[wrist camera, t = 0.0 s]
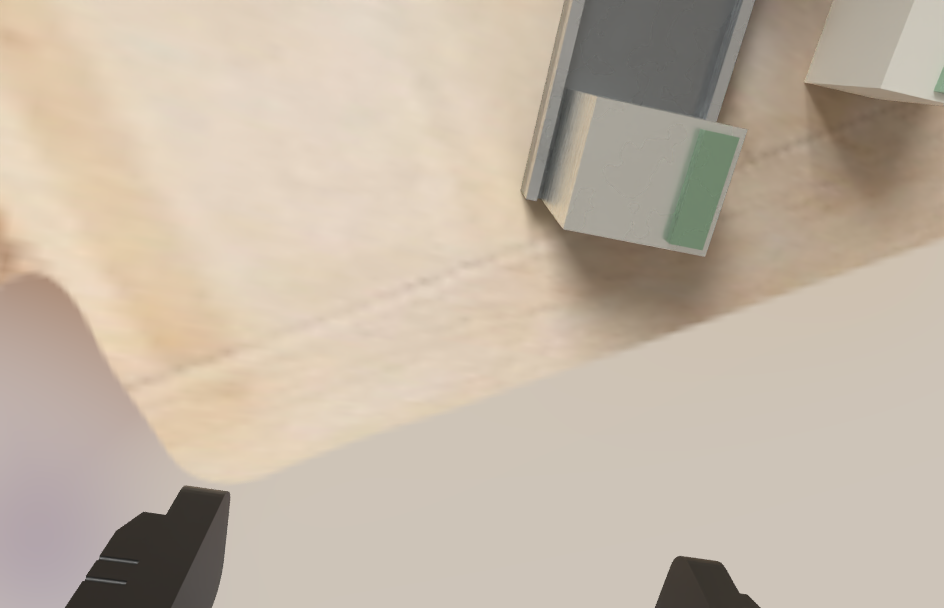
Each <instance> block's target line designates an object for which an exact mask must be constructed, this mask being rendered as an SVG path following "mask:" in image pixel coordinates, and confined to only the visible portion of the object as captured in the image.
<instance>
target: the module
mask: <svg viewBox="0 0 944 608" xmlns="http://www.w3.org/2000/svg"><path fill="white" fill-rule="evenodd" d="M804 82H805V83H809V84H813V85H818V86H822V87H826V88H831V89H835V90H840V91H844V92H848V93H853V94H857V95H861V96H866V97H870V98H874V99H880V100H890V101H899V102H909V103H919V104H928V105H938V106H944V0H833V2H832V5H831V8H830V11H829V13H828V16H827V19H826V22H825V25H824V28H823V30H822V33H821V36H820V39H819V42H818V45H817V47H816V50H815V53H814V56H813V59H812V62H811V64H810V67H809V70H808V73H807V76H806V79H805V81H804Z"/></svg>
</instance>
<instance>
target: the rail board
mask: <svg viewBox="0 0 944 608" xmlns="http://www.w3.org/2000/svg"><path fill="white" fill-rule="evenodd" d="M754 2H755V0H565V1H564V6H563V10H562V14H561V19H560V23H559V27H558V32H557V36H556V40H555V44H554V49H553V53H552V57H551V62H550V66H549V70H548V75H547V79H546V83H545V88H544V92H543V96H542V100H541V105H540V109H539V113H538V118H537V122H536V126H535V131H534V135H533V139H532V144H531V148H530V152H529V156H528V161H527V165H526V169H525V174H524V178H523V182H522V187H521V192H522V193H523V195H524V197H525V198H526V199H528V200H533V201H537V198H539V199H542V201H543V202H544V204H545V205H546V206H547V208H548V209H549V211H550V212H551V213H552V215H553V216H554V217H555V219H556V220H557V222H558V223H559V224H560V226H561V227H562V228H563V229H564V230H570V231H575V232H580V233H585V234H590V235H595V236H600V237H605V238H611V239H616V240H621V241H626V242H631V243H636V244H641V245H647V246H652V247H657V248H662V249H667V250H672V251H677V252H683V253H688V254H693V255H698V256H703V257H705V256H706V253H707V250H708V247H709V244H710V241H711V238H712V235H713V232H714V229H715V226H716V223H717V220H718V217H719V214H720V211H721V208H722V205H723V202H724V199H725V196H726V193H727V190H728V187H729V184H730V181H731V178H732V175H733V172H734V169H735V166H736V163H737V160H738V157H739V154H740V151H741V148H742V145H743V142H744V139H745V136H746V133H747V129H743V128H739V127H735V126H731V125H727V124H723V123H719V122H717V119H718V116H719V113H720V109H721V106H722V103H723V100H724V97H725V94H726V90H727V87H728V84H729V81H730V78H731V75H732V72H733V68H734V65H735V62H736V59H737V56H738V53H739V50H740V46H741V43H742V40H743V37H744V34H745V31H746V28H747V24H748V21H749V18H750V15H751V12H752V9H753V6H754Z"/></svg>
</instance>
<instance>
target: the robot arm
mask: <svg viewBox="0 0 944 608" xmlns="http://www.w3.org/2000/svg"><path fill="white" fill-rule="evenodd" d="M229 506H230V493H229V492H228V491H221V490H214V489H207V488H200V487H192V486H184V487H183V488H182V489H181V490H180V492H179V493H178V495H177V497H176V499H175V500H174V502H173V504H172V506H171V507H170V509H169V511H168V513H167V514H166V515H162V514H155V513H148V512H143V513H141V514H140V515H138V516H137V517H135V518H134V519H132V520H131V521H130V522H128V523H127V524H125V525H124V526H123V527H121V528H120V529H118V530H117V531H116V532H115V533H114V535H113V537H112V538H111V539H110V541H109V542H108V544H107V546H106V547H105V549H104V550H103V552H102V553H101V555H100V557H99V560H97V561H96V562H95V563H94V565H93V567H92V568H91V570H90V571H89V572H88V574H87V575H86V579H85V581H82V583H81V584H80V586H79V587H78V589H77V591H76V592H75V593H74V595H73V596H72V598H71V600H70V601H69V602H68V604H67V606H66V607H65V608H212V606H213V603H214V600H215V597H216V594H217V591H218V587H219V583H220V579H221V575H222V569H223V563H224V553H225V544H226V535H227V525H228V516H229ZM655 608H760V607H759V606H758V605H757V604H756V603H755V602H754V601H753V600H752V599H751V598H750V597H749V596H748V595H746V594H740V593H739V591H738V590H737V588H736V586H735V585H734V583H733V581H732V579H731V577H730V576H729V574H728V572H727V570H726V568H725V567H724V565H723V564H722V563H720V562H718V561H712V560H705V559H698V558H691V557H684V556H678V557H676V558H675V559H674V561H673V562H672V564H671V567H670V570H669V572H668V574H667V577H666V580H665V582H664V585H663V588H662V590H661V593H660V596H659V598H658V601H657V604H656V606H655Z"/></svg>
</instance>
